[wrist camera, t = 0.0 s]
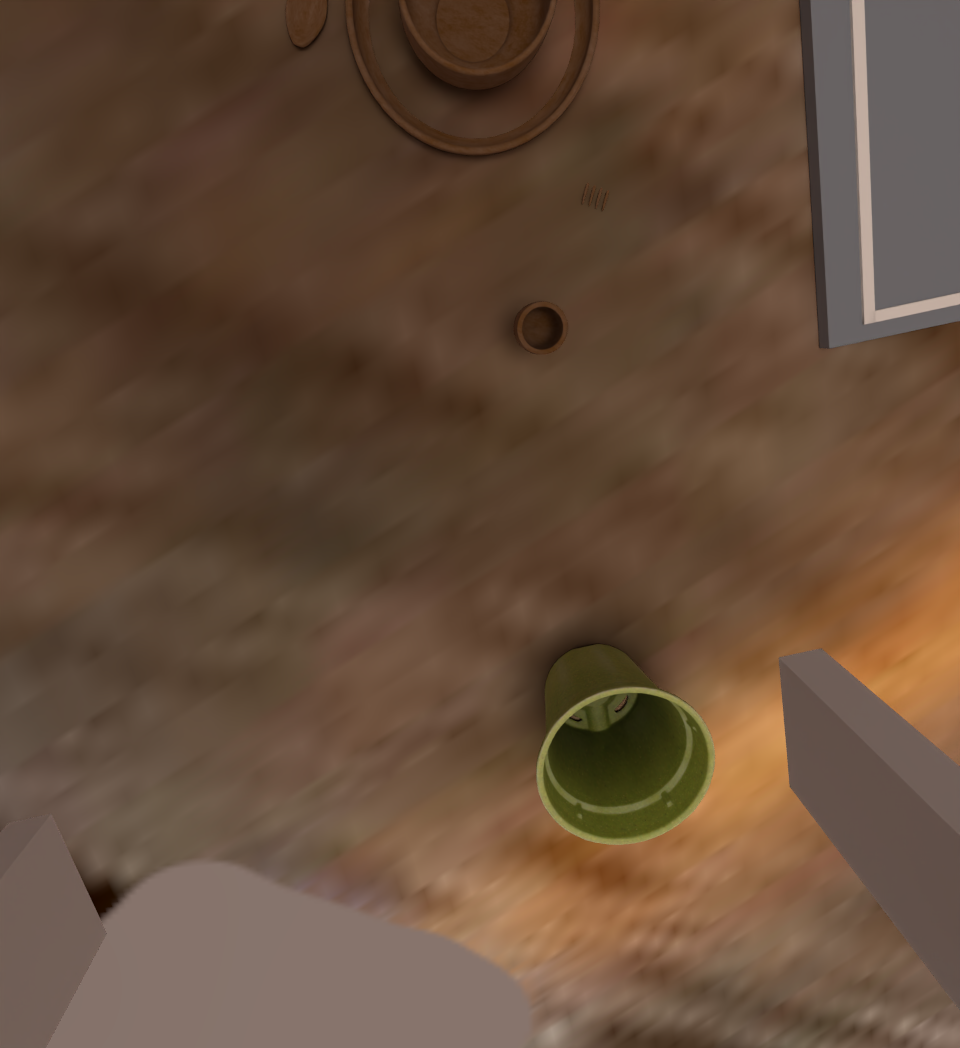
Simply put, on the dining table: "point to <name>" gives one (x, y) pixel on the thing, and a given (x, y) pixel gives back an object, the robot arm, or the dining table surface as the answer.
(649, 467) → the dining table surface
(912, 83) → the blueprint baseplate
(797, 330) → the dining table surface
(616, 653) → the plant pot
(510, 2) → the place setting
